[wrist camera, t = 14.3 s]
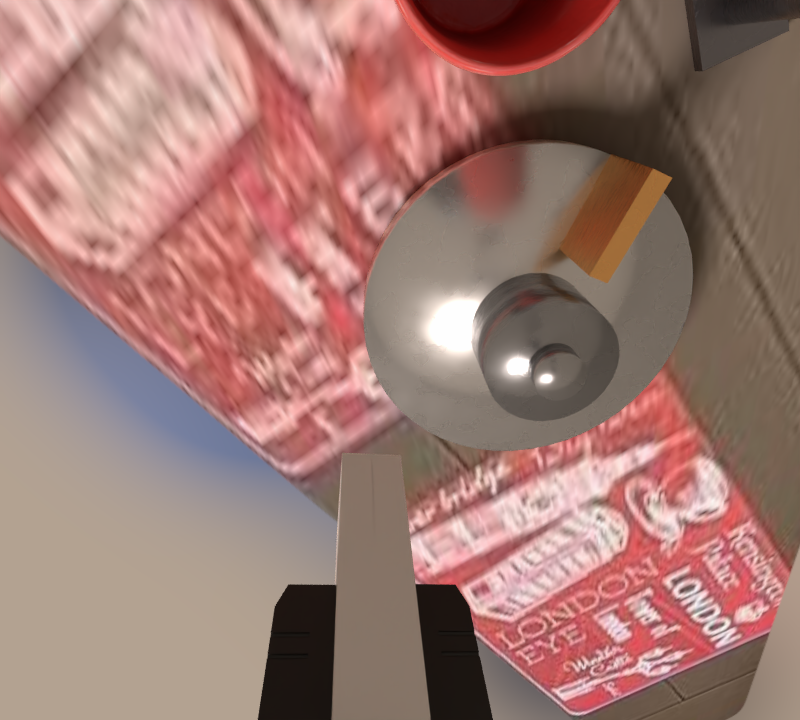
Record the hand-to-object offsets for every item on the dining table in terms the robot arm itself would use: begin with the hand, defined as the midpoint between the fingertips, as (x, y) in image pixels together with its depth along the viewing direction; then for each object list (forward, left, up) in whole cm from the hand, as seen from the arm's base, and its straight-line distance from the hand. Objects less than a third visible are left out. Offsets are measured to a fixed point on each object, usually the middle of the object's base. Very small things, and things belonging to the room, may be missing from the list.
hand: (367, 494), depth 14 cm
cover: (+10, +8, -21) cm, 25 cm away
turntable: (+9, +8, -23) cm, 26 cm away
